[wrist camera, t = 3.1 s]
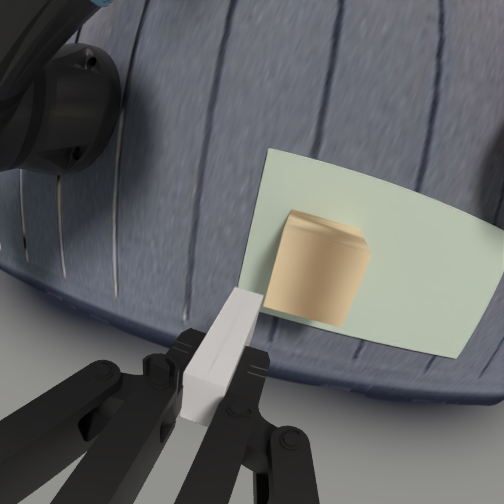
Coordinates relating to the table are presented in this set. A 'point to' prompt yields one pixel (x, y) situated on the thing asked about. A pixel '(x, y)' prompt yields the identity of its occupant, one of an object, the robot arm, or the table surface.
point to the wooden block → (317, 269)
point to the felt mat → (383, 254)
